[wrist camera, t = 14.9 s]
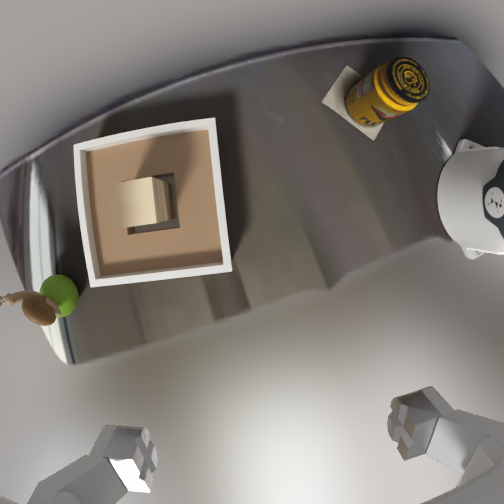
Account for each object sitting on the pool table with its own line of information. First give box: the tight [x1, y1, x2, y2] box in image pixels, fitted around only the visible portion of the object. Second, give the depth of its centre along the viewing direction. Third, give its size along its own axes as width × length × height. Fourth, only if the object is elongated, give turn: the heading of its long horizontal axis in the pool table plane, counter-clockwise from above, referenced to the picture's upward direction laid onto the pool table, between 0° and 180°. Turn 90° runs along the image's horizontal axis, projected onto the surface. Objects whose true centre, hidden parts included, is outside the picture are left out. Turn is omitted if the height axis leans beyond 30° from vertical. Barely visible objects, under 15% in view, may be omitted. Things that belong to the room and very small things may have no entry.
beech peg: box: [109, 177, 175, 229], centre depth 30 cm, size 4×4×10 cm
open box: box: [74, 118, 232, 287], centre depth 33 cm, size 16×16×6 cm
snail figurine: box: [0, 275, 78, 326], centre depth 30 cm, size 5×6×12 cm
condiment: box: [322, 57, 430, 140], centre depth 30 cm, size 7×8×12 cm
